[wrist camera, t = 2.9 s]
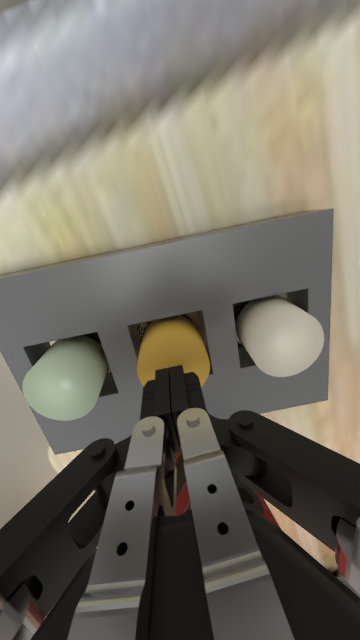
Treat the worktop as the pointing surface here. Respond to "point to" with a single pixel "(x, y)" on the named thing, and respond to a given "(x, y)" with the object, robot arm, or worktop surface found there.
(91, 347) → the button sage
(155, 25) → the worktop surface
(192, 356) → the button amber
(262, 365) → the button ivory
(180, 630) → the robot arm
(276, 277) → the panel
